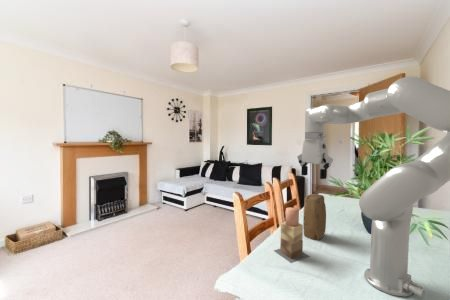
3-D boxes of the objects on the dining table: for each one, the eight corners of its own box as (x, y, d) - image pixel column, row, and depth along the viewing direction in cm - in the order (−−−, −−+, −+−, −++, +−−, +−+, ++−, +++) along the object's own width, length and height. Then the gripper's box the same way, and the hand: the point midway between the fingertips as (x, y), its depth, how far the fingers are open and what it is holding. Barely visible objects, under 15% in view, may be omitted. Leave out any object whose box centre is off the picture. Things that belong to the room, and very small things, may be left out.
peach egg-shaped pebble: (301, 225, 84) (301, 210, 84) (292, 227, 82) (292, 212, 81) (292, 220, 88) (292, 206, 88) (282, 223, 86) (283, 208, 86)
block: (316, 242, 96) (317, 198, 95) (301, 236, 101) (302, 195, 101) (327, 236, 102) (329, 194, 102) (313, 230, 108) (314, 191, 107)
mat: (310, 257, 84) (310, 256, 83) (291, 264, 79) (291, 262, 79) (291, 246, 92) (291, 245, 92) (273, 251, 88) (273, 250, 88)
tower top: (302, 239, 85) (302, 224, 85) (293, 243, 81) (293, 228, 81) (289, 234, 90) (289, 220, 89) (280, 238, 86) (280, 223, 86)
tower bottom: (302, 255, 84) (302, 240, 84) (291, 258, 82) (291, 243, 81) (291, 248, 90) (291, 234, 89) (280, 251, 87) (280, 237, 87)
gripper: (338, 136, 85) (337, 179, 85) (304, 137, 100) (303, 173, 101) (326, 136, 81) (325, 181, 82) (292, 137, 96) (291, 174, 97)
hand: (313, 176), depth 91 cm, fingers open, 9 cm apart
